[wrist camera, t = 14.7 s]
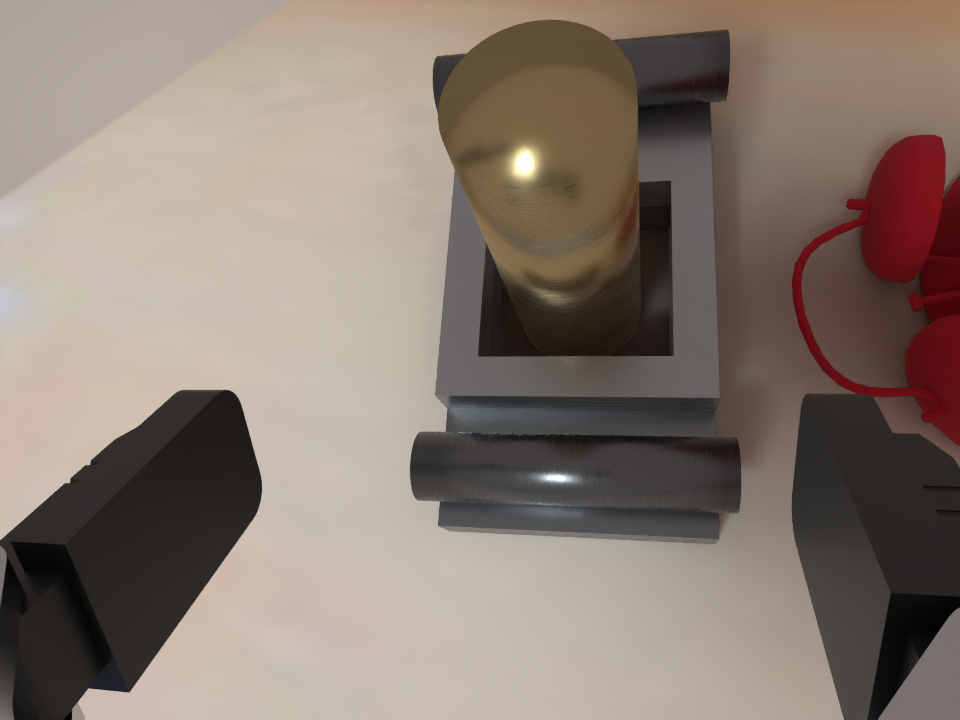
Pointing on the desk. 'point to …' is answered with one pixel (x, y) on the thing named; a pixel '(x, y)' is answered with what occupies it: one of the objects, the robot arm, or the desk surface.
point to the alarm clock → (910, 271)
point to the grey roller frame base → (595, 357)
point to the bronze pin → (553, 178)
